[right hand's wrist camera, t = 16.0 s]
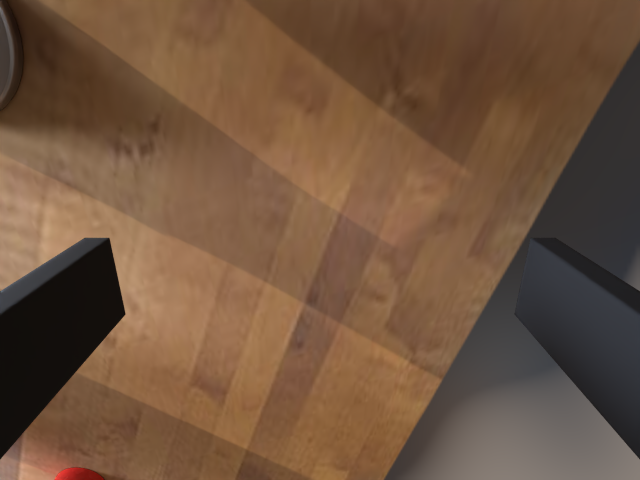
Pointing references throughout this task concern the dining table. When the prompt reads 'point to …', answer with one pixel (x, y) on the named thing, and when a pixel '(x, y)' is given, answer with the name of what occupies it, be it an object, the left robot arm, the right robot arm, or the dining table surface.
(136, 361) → the dining table surface
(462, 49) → the dining table surface
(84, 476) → the tin
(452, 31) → the dining table surface
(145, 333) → the dining table surface
